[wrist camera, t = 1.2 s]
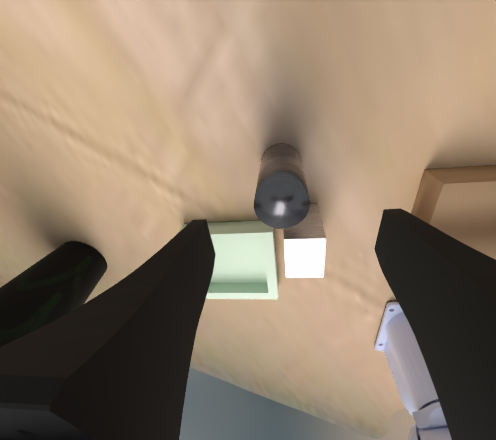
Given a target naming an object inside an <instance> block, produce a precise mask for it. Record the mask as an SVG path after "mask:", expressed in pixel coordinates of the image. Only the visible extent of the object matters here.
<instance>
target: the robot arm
mask: <svg viewBox="0 0 496 440" xmlns="http://www.w3.org/2000/svg"><path fill="white" fill-rule="evenodd" d="M375 252H376V255H377V258H378V261H379V264H380V267H381V269H382V272H383V274H384V276H385V278H386V280H387V282H388V284H389V286H390V288H391V290H392V291H393V293H394V295H395V297H396V299H397V301H398V302H389V303H388V304H387V305H386V309H385V312H384V316H383V319H382V322H381V326H380V329H379V333H378V336H377V339H376V343H375V349H376V350H377V351H384V353H385V356H386V359H387V362H388V364H389V367H390V370H391V373H392V376H393V378H394V381H395V384H396V387H397V389H398V392H399V395H400V398H401V400H402V402H403V404H404V406H405V407H406V409H407V410H408V411H409V412H410V414H411V415H412V416H413V417H414V419H415V422H416V424H413V425H411V426H410V432H409V435H408V440H496V260H495V259H493V258H491V257H489V256H487V255H485V254H483V253H481V252H479V251H477V250H475V249H473V248H471V247H470V246H468V245H466V244H464V243H462V242H460V241H458V240H456V239H455V238H453V237H451V236H449V235H447V234H446V233H444V232H442V231H440V230H439V229H437V228H435V227H433V226H432V225H430V224H428V223H426V222H425V221H423V220H421V219H419V218H418V217H416V216H414V215H412V214H410V213H409V212H407V211H405V210H403V209H385V210H384V211H383V215H382V220H381V224H380V228H379V232H378V236H377V241H376V245H375ZM215 256H216V254H215V250H214V246H213V243H212V239H211V235H210V231H209V228H208V224H207V220H206V219H205V220H192V221H191V222H190V223H189V224H188V225H187V226H185V227H184V228H183V229H182V230H181V231H180V232H179V233H178V234H177V235H176V236H175V237H174V238H173V239H171V240H170V241H169V242H168V243H167V244H166V245H165V246H164V247H163V248H162V249H160V250H159V251H158V252H157V253H156V254H154V255H153V256H152V257H151V258H150V259H148V260H147V261H146V262H145V263H144V264H143V265H141V266H140V267H139V268H137V269H136V270H135V271H134V272H132V273H131V274H130V275H128V276H127V277H125V278H124V279H123V280H121V281H120V282H118V283H117V284H115V285H114V286H112V287H111V288H109V289H108V290H106V291H104V292H103V293H101V294H100V295H98V296H96V297H95V298H93V299H92V300H90V301H88V302H87V303H85V304H84V305H82V306H80V307H78V308H77V309H75V310H73V311H71V312H69V313H68V314H66V315H64V316H62V317H60V318H58V319H56V320H55V321H53V322H51V323H49V324H47V325H45V326H43V327H41V328H39V329H37V330H35V331H33V332H31V333H29V334H27V335H24V336H22V337H20V338H18V339H16V340H14V341H12V342H10V343H8V344H6V345H3V346H1V347H0V440H179V435H180V427H181V419H182V412H183V405H184V398H185V391H186V384H187V378H188V372H189V367H190V361H191V355H192V350H193V345H194V340H195V335H196V330H197V326H198V322H199V319H200V315H201V312H202V309H203V305H204V302H205V299H206V295H207V292H208V289H209V285H210V282H211V278H212V275H213V269H214V263H215Z"/></svg>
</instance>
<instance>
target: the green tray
mask: <svg viewBox="0 0 496 440" xmlns="http://www.w3.org/2000/svg"><path fill="white" fill-rule="evenodd" d="M207 224H208V228H209V231H210V235H211V239H212V243H213V246H214V250H215V254H216V256H215V263H214V269H213V275H212V278H211V282H210V285H209V289H208V292H207V295H206V299H278V274H277V261H276V249H275V236H274V228H273V227H270V226H268V225H266V224H265V223H263V222H262V221H261V220H258V221H235V222H213V223H207ZM187 225H188V224H183V226H182V228H181V229H180V231H181V230H182V229H183V228H184V227H185V226H187ZM180 231H179V232H180Z"/></svg>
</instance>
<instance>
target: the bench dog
mask: <svg viewBox="0 0 496 440" xmlns="http://www.w3.org/2000/svg"><path fill="white" fill-rule="evenodd" d="M284 249H285V268H286V278H324V265H325V250H326V235H325V232H324V228H323V224H322V220H321V216H320V213H319V209H318V205H317V204H310V208H309V212H308V214H307V216H306V217H305V218H304V220H302V221H301V222H300V223H299V224H297V225H295V226H293V227H290V228H284Z"/></svg>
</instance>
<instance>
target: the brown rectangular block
mask: <svg viewBox="0 0 496 440" xmlns="http://www.w3.org/2000/svg"><path fill="white" fill-rule="evenodd" d="M411 214H412V215H414V216H416V217H418V218H419V219H421V220H423V221H425V222H426V223H428V224H430V225H432V226H433V227H435V228H437V229H439V230H440V231H442V232H444V233H446V234H447V235H449V236H451V237H453V238H455V239H456V240H458V241H460V242H462V243H464V244H466V245H468V246H470V247H471V248H473V249H475V250H477V251H479V252H481V253H483V254H485V255H487V256H489V257H491V258H493V259H495V260H496V165H490V166H474V167H458V168H442V169H426V170H424V173H423V176H422V179H421V183H420V186H419V189H418V193H417V196H416V199H415V203H414V206H413V209H412V213H411Z"/></svg>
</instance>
